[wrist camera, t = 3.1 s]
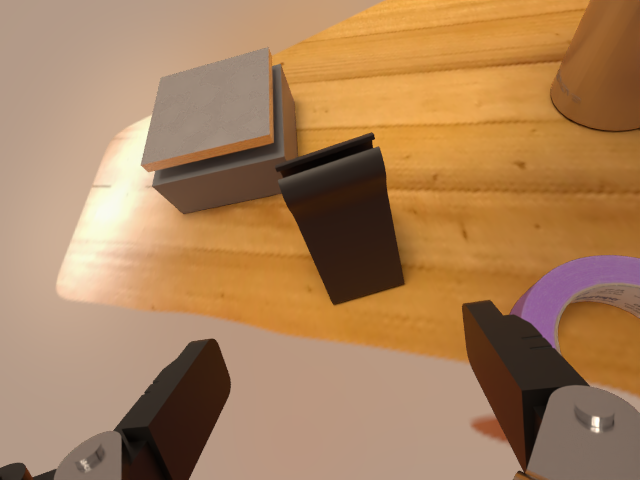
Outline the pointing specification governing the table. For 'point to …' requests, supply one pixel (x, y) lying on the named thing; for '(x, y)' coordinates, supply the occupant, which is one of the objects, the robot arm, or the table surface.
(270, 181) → the base
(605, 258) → the masking tape
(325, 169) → the phone stand
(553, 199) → the table surface
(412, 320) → the table surface
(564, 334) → the table surface
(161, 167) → the pan
